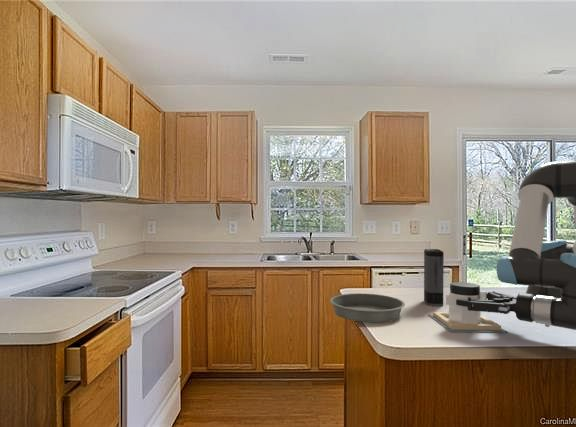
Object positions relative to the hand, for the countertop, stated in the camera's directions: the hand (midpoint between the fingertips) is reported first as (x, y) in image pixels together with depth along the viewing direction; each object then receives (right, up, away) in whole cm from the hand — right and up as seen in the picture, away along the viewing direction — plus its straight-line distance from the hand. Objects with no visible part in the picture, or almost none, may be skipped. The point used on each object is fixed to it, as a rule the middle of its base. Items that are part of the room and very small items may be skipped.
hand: (456, 296), depth 120 cm
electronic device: (+2, -8, +25) cm, 26 cm away
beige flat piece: (+2, -8, -2) cm, 8 cm away
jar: (+1, -8, -4) cm, 9 cm away
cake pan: (-26, -8, +10) cm, 29 cm away
